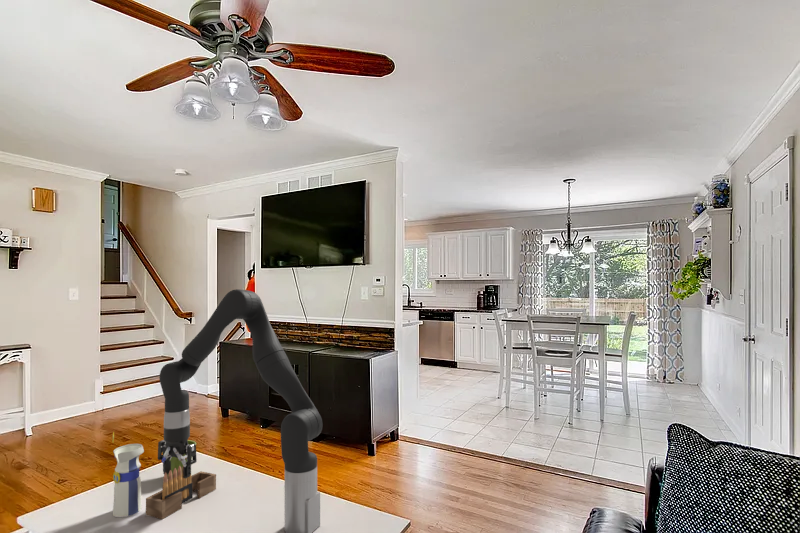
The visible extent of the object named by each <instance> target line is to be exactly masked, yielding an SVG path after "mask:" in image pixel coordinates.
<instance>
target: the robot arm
mask: <svg viewBox="0 0 800 533" xmlns="http://www.w3.org/2000/svg"><path fill="white" fill-rule="evenodd" d="M235 320H242V321H244V323H245V324H246V326H247V329H248V331H249V332H250V335H251V339H252V359H253V362H254V363H255V366H256V368H257V370H258V373H259V375H260V376H261V379H262V380H263V381H264V382H265V384H267V385H268V386H269V387H270V388H271V389H272V390H274V391H275V392H276V393H278V395H280V396H281V397H282V398H283V400H284V401H286V403H287V405H288V406H289V408H290V410H291V413H289V414H287V415H285V416H284V418H283V419H282V421H281V425H280V445H281V446H280V448H281V458H282V461H283V463H284V532H285V533H314V531H316V529H318V528H319V527H320V526H321V492H320V491H318V456H317V454H316V453H314V452H312V451H309V442H310V441H312V440H313V439H315V438H317V437H319V435H320V434H321V433H322V431H323V425H324V424H323V418H322V416H321V414H320V413H319V411H318V409H317V407H316V406H315V404H314V402H313V401H312V399H311V398H310V397H309V394H308V393H307V392H306V390H305V388H304V387H303V384H302V383H301V381H300V379H299V377H298V376H297V373H296V372H295V370H294V368H293V366H292V364H291V362H290V359H289V357H288V355H287V354H286V352H285V350H284V348H283V346H282V344H281V342H280V341H279V338H278V337H277V334H276V333H275V330H274V329H273V327H272V325H271V322H270V320H269V317H268V314H267V311H266V308H265V306H264V303H263V301H262V299H261V297H260V296H259V294H257V292H254V291H252V290H247V289H237V288H235V289H232V290H230V291H228V292H227V293H226V294H225V295H224V296H223V297H222V299H221V301H220V303H219V304H218V305H217V307H216V308H215V310H214V311H213V313H212V315H211V316H210V317H209V319H208V320H207V322H206V323H205V324H204V326H203V327H202V329H201V330H200V331H199V332H198V334H197V335H196V336H195V337H193V339H192V340H191V341H190V342H189V343H188V344H187V345H186V346H185V348H184V349H183V350H182V352H181V358H180V359H179V360H177V361H173V362H169V363H166V364H165V365H163V367H162V368H161V369H160V371H159V383H160V386H161V390H162V393H163V396H164V397H163V398H164V415H163V439H162V440H160V441H158V443H157V444H158V445H157V460H158V461H161V462H162V472H163V475H164V474H165V472H166V473H167V474H169V471H170V470H171V461H169V460H170V459H171V458H172V457H176V458H178V459H179V461H181V462H182V464H183V466H184V467H183V478H185V479H186V478H188V477H190V475H191V476H192V465H194V464H196V463H197V460H198V459H197V443H196V444H195V443H194V444H192V445H189V444H188V440H189V438H190V437H191V413H190V395H189V392H188V391H187V390H185V389H182V387H181V383H184V382H187V381H189V380H190V379H191V378H192V377H193V376H195V374H196V373H197V371H198V370H199V368H200V367H201V364H202V363H203V362H204V361H205V359H207V357H209V355H210V354H211V353H212V352H213V351H214V350H215V349H216V347H217V345H218V343H219V342H220V337H221V335H222V333H223V331H224V330H225V329H226V328H227V327H228V326H229V325H230V324H231V323H233V322H234V321H235ZM162 452H163V453H162ZM184 454H186V455H185V456H183V455H184ZM191 457H192V460H191ZM185 459H187V462H186V460H185Z"/></svg>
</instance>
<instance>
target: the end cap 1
mask: <svg viewBox="0 0 800 533" xmlns="http://www.w3.org/2000/svg"><path fill="white" fill-rule="evenodd" d="M161 495H162V490H160V491H158V492H156V493H154V494H152V495H150V496H148V497H146V498H145V515H146V516H148V517H152V518H156V519H159V520H164V519H166V518H167V517H169V516H171V515H173V514H174V513H176V512H177V511H180V510H181V509H183V506H182V505H183V504H182V492H178V493H176V494H174V495H172V496H170V497H168V498H166V499H164V500H161Z"/></svg>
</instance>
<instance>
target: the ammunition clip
mask: <svg viewBox="0 0 800 533" xmlns="http://www.w3.org/2000/svg"><path fill="white" fill-rule="evenodd" d="M183 467H184V466H183ZM191 476H192V474H191V475H190V477H188V478H186V479H185V478H183V468H182V471H181V467H180V466H179V468H178V475H177V470H176V468H174V471H173V479H172V471H171V470H170V471H169V475H168V477H167V473H166V472H165V474H163V479H162V490H161V491H162V495H161V500H164V499H166V498H168V497H170V496H172V495H174V494H176V493H178V492H182V505H183V504H185V503H186V502H188V501H190V500H192V499H193V496H194V495H193V492H194V491H193V492H192V482H191Z"/></svg>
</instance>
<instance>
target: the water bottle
mask: <svg viewBox="0 0 800 533" xmlns="http://www.w3.org/2000/svg"><path fill="white" fill-rule="evenodd" d="M114 440H115V431H113V433H112V441H111V442H112V443H115V442H114ZM112 452H113V455H114V460H115V459H116V462H117V464H116V466H115V468H114V472H113V474H112V480H113V482H114V484H113V485H114V486H113V506H112V516H113V517H115V518H125V517H130V516H133V515H135V514H137V513H139V512H141V510H142V508H143V507H142V506H143V505H142V479H141V476H140V468H141V466H142V464H141V462H140V460H139V458H140V455H142V454H143V453H144V452H145V450H144V446H143V444H141V443H128V444H125V445H122V446H119V447H116V448H115V449H114V450H113V451H112Z"/></svg>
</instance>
